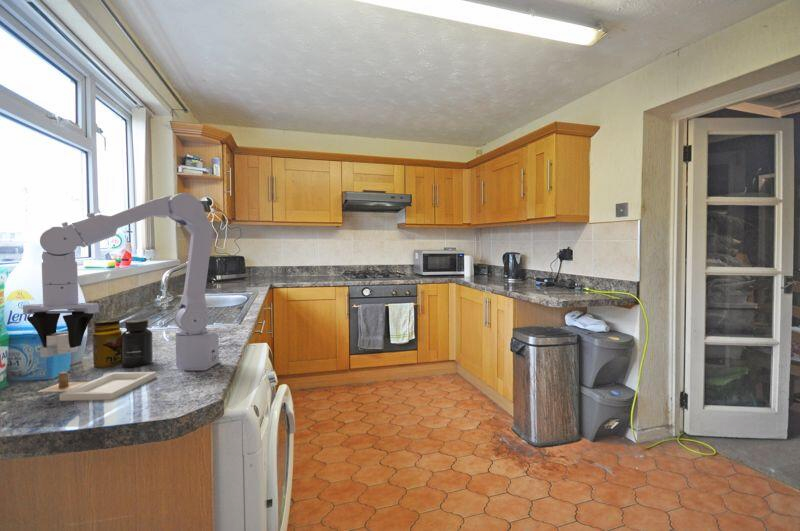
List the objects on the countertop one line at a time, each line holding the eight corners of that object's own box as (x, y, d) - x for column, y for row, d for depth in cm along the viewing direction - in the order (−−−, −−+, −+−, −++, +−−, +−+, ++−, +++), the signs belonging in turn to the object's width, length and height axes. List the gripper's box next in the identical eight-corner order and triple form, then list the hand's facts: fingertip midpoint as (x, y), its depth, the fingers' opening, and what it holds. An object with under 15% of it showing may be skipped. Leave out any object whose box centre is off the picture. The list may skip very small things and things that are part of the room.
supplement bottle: (128, 371, 95) (127, 323, 94) (116, 367, 98) (115, 321, 98) (158, 364, 100) (157, 319, 100) (145, 361, 104) (144, 317, 104)
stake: (88, 384, 85) (88, 368, 85) (65, 393, 79) (65, 376, 79) (61, 384, 85) (61, 369, 85) (36, 394, 79) (36, 377, 79)
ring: (83, 348, 85) (83, 331, 85) (56, 357, 78) (55, 337, 78) (61, 349, 85) (60, 331, 84) (31, 357, 78) (30, 338, 78)
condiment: (123, 367, 99) (122, 321, 99) (81, 372, 94) (79, 324, 94) (124, 360, 105) (123, 317, 105) (85, 366, 100) (84, 320, 100)
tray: (156, 379, 88) (156, 371, 88) (111, 402, 74) (111, 393, 74) (112, 380, 88) (112, 372, 88) (59, 403, 74) (59, 394, 74)
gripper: (7, 285, 78) (9, 351, 78) (79, 284, 78) (81, 350, 78) (39, 283, 85) (41, 344, 85) (105, 282, 85) (107, 342, 85)
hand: (62, 346), depth 82 cm, fingers closed on ring, 5 cm apart
